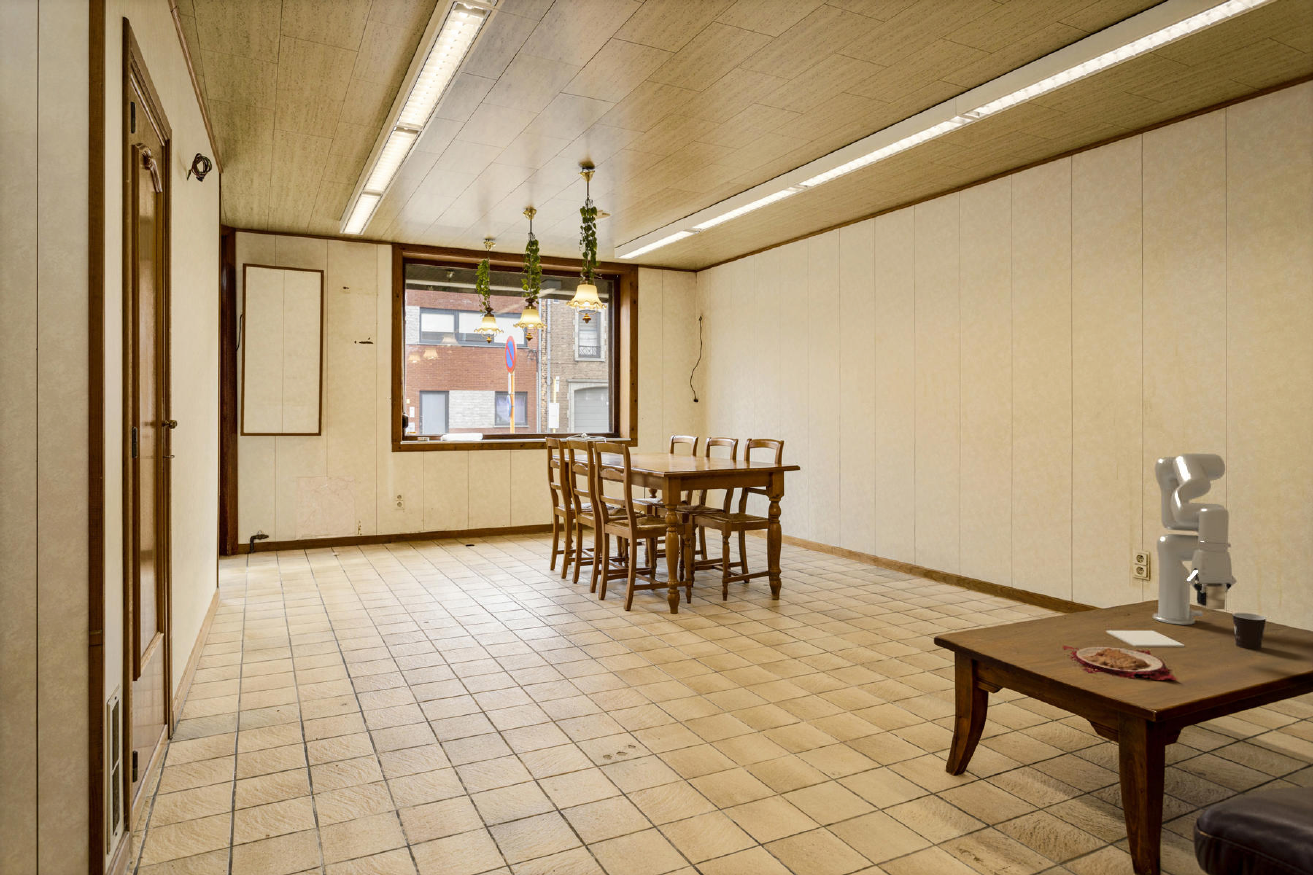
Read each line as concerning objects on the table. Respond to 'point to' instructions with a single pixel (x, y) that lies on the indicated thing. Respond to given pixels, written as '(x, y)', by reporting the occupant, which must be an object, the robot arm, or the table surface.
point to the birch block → (1214, 597)
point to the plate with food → (1121, 662)
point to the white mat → (1145, 639)
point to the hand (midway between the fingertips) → (1210, 603)
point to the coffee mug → (1248, 630)
